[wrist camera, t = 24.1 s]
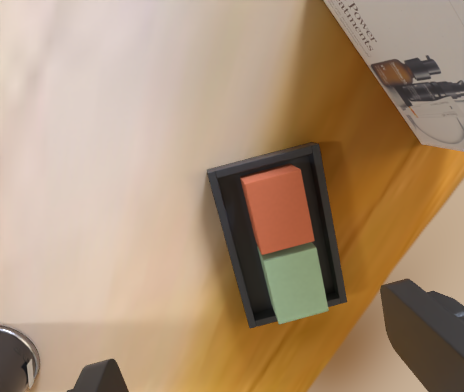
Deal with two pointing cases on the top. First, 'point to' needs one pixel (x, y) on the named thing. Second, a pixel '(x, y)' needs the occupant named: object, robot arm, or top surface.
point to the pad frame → (242, 235)
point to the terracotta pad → (278, 208)
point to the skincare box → (414, 60)
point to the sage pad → (294, 282)
